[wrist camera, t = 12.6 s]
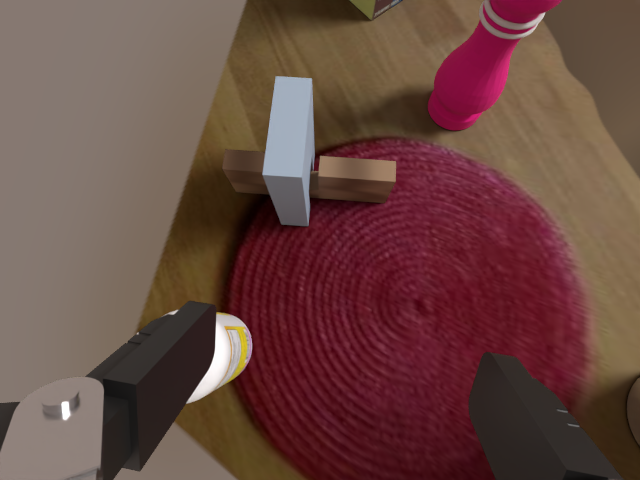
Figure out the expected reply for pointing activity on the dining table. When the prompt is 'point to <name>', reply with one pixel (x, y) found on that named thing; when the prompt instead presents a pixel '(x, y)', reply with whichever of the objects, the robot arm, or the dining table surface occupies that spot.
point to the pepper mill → (482, 61)
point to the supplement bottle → (225, 354)
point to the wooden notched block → (318, 176)
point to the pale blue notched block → (290, 149)
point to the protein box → (374, 6)
